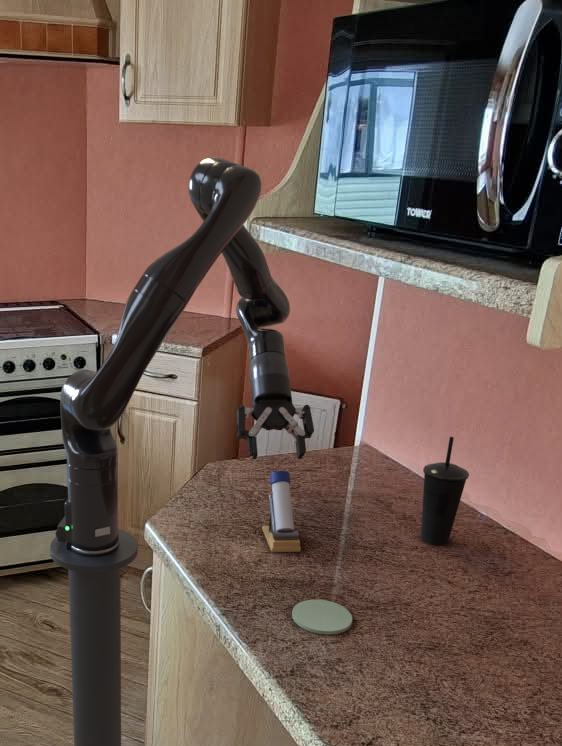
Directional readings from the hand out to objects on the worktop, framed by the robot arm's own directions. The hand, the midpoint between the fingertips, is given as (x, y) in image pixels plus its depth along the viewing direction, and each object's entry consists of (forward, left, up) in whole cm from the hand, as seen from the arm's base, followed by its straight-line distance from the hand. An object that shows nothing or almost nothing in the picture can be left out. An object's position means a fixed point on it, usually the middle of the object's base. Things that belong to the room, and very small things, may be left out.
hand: (277, 457), depth 148 cm
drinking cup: (+30, 0, -14) cm, 33 cm away
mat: (+10, -32, -13) cm, 36 cm away
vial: (+2, -6, -11) cm, 13 cm away
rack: (+2, -7, -13) cm, 15 cm away
